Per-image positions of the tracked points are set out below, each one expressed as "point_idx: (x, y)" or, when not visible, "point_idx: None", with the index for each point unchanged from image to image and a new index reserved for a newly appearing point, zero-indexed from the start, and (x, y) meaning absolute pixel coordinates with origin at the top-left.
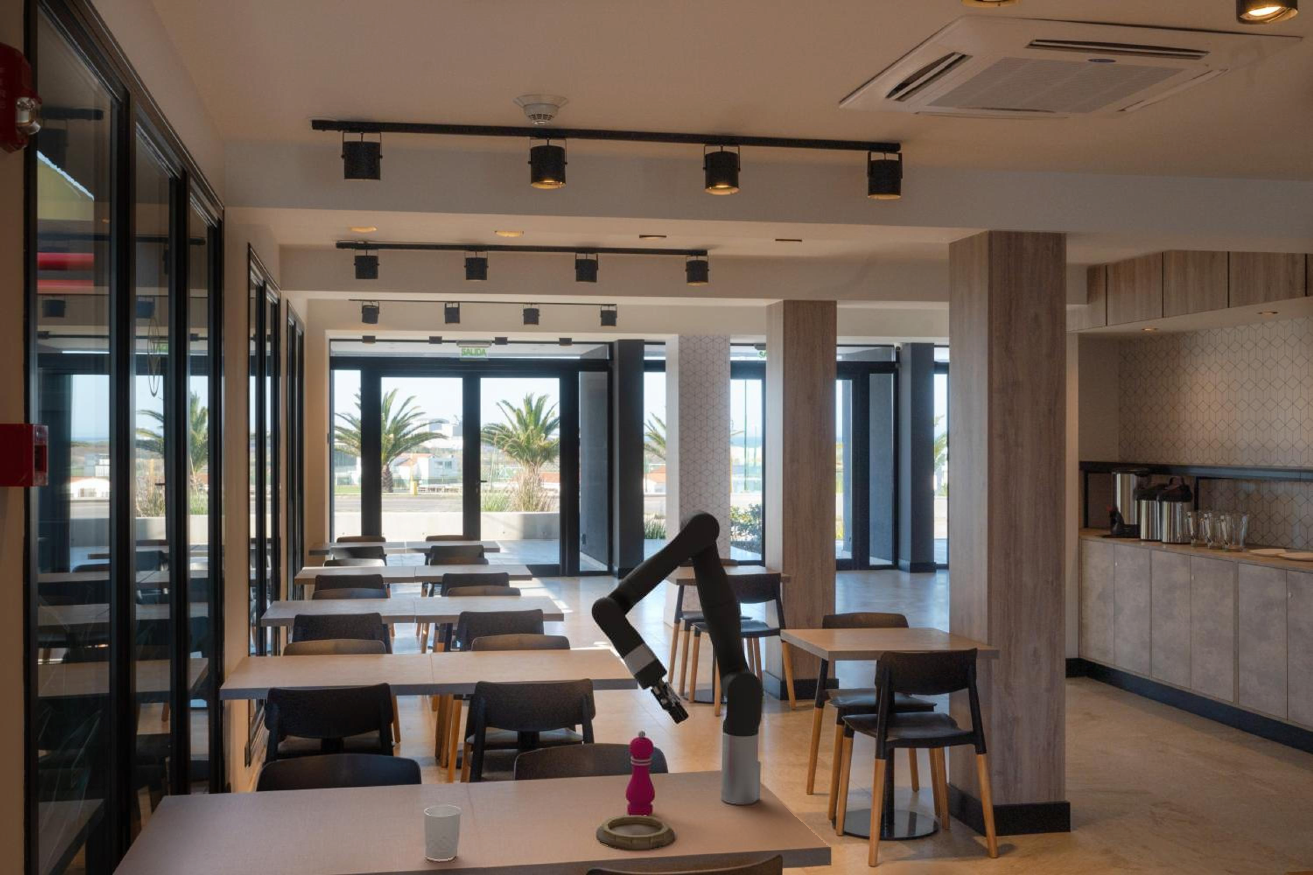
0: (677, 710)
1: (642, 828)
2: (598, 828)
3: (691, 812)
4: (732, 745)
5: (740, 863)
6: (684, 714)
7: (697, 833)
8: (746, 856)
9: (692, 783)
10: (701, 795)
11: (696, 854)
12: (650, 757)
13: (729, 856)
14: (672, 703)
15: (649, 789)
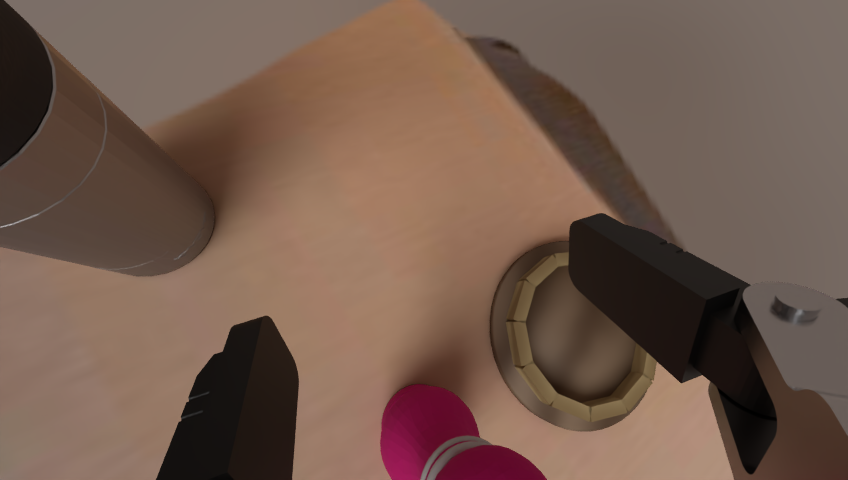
0: (680, 260)
1: (549, 329)
2: (609, 424)
3: (344, 294)
4: (95, 139)
5: (571, 94)
6: (269, 363)
7: (479, 217)
8: (536, 93)
9: (4, 446)
10: (160, 342)
11: (580, 175)
12: (450, 456)
13: (554, 119)
14: (839, 310)
15: (449, 399)
